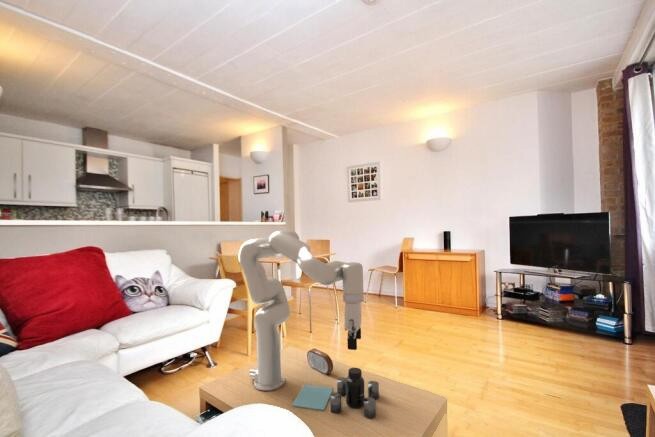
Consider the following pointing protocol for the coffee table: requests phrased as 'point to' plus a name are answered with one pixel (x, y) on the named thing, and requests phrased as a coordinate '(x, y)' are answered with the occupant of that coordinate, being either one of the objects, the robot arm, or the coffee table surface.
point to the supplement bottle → (355, 388)
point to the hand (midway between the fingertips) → (354, 343)
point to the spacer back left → (341, 386)
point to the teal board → (313, 397)
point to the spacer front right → (370, 408)
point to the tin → (320, 361)
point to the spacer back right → (373, 389)
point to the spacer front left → (335, 403)
